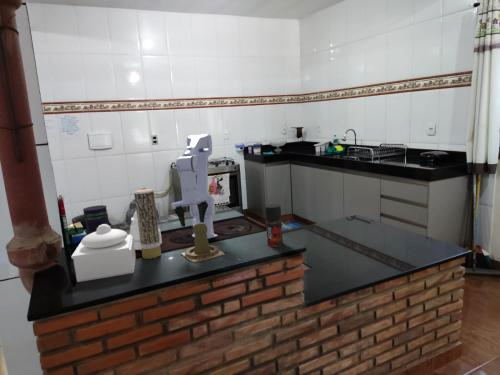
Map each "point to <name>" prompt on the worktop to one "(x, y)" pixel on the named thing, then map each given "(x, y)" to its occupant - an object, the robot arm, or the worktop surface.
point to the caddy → (200, 257)
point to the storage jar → (95, 217)
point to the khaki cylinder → (201, 239)
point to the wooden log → (147, 223)
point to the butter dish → (104, 254)
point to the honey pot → (135, 232)
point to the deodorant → (274, 225)
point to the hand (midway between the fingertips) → (192, 224)
